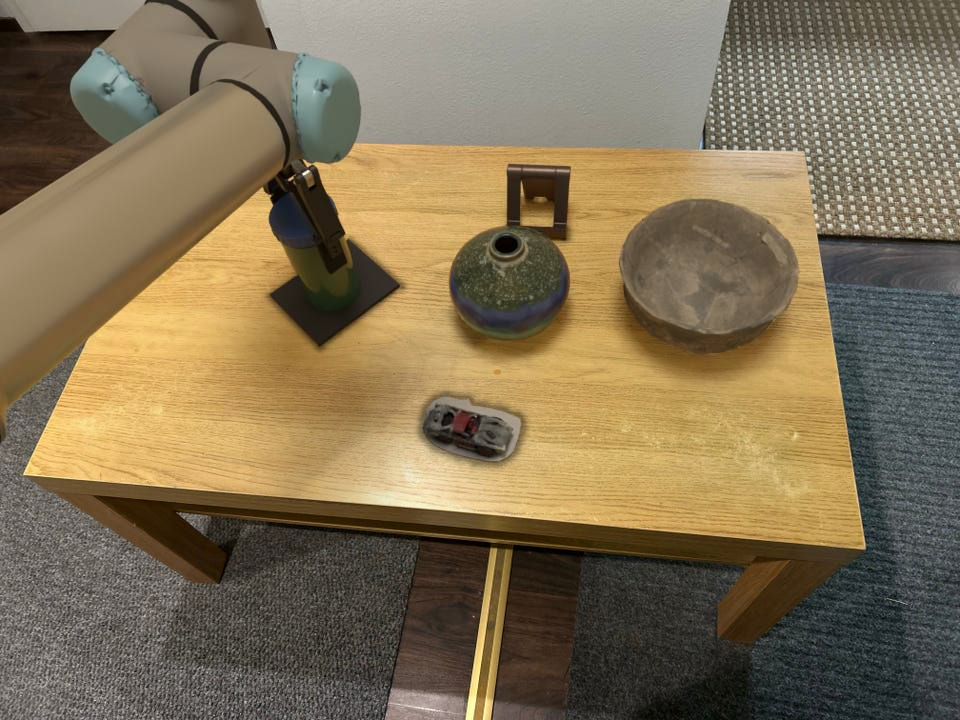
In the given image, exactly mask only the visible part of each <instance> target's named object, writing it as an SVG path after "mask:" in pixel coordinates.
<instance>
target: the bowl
mask: <svg viewBox="0 0 960 720" xmlns="http://www.w3.org/2000/svg"><path fill="white" fill-rule="evenodd" d="M619 252H620V253H619V259H618V267H619V272H620V276H621V279H622V293H623V298H624V301H625V304H626V307H627V308H628V310H629V312H630V314H631V315H632V317H633V319H634V320H635V322H636V323H637V324H638V325H639V327H641V328H642V329H643V330H644V332H646V333H647V334H648V335H649V336H651V337H652V338H653V339H656V340H658V341H659V342H661V343H664V344H666V345H669V346H670V347H672V348H675V349H679V350H682V351H684V352H687V353H689V354H690V353H691V354H693V355H696V356H705V355H716V354H724V353H728V352H732V351H735V350H738V349H739V348H741V347H744V346H748V345H749V344H752V343H753V342H755V341H757V340H758V339H759V338H760V337H762V335H763V334H765V333H766V331H767V330H768V329H769V328H770V327H771V325H772V324H773V323H774V320H776V319H777V318H778V317H779V316H781V315H783V314H784V312H785V311H786V309H788V307H789V306H790V305H791V303H792V301H793V298H794V296H795V294H796V292H797V290H798V285H799V274H800V267H799V266H800V265H799V260H798V257H797V255H796V252H795V249H794V248H793V245H792V243H791V241H790V240H789V239H788V238H786V237H785V236H784V234H783V233H782V232H781V231H780V230H779V229H778V228H777V227H776V225H774V224H772V223H771V222H770V220H769V219H767V218H766V217H764V216H762V215H759V214H758V213H757V212H754V211H752V210H751V209H749V208H747V207H746V206H743V205H739V204H736V203H732V202H728V201H722V200H719V199H713V198H692V197H689V198H684V199H680V200H679V199H678V200H676V201H673V202H670V203H667V204H665V205H662V206H659V207H658V208H656V209H654V210H652V211H651V212H650V213H648V214H647V215H646V216H644V217H643V218H642V220H640V221H639V222H637V223H636V224H635V225H634V227H633V228H632V229H631V230H630V232H629V233H628V234H627V235H626V238H625V240H624V242H623V244H622V246H621V248H620V251H619Z"/></svg>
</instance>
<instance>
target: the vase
mask: <svg viewBox="0 0 960 720" xmlns="http://www.w3.org/2000/svg"><path fill="white" fill-rule="evenodd" d="M522 226H523V225H521V226H505V225H501V226H495V227H491V228H487V229H486V230H483V231H481V232H479V233H477V234H475V235H474V236H473V237H471V238H470V239H469V240H468V241H466V242H465V243H464V245H462V246H461V247H460V249H459V250H458V252H457V253H456V254H455V257H454V259H453V261H452V263H451V266H450V269H449V274H448V291H449V296H450V300H451V303H452V306H453V307H454V309H455V312H456V313H457V315H458V316H459V317H460V319H461V320H462V321H463V322H464V323H465V324H466V326H468V328H470V329H471V330H473V331H475V332H476V333H478V335H482V336H483V337H486V338H489V339H491V340H495V341H502V342H515V341H522V340H526V339H530V338H532V337H535V336H537V335H539V334H541V333H542V332H544V331H545V330H547V329H548V328H549V327H550V326H551V325H553V324H554V323H555V321H556V320H557V319H558V318H559V316H561V314H562V312H563V310H564V308H565V306H566V304H567V301H568V299H569V295H570V289H571V274H570V269H569V265H568V261H567V260H566V257H565V255H564V253H563V252H562V250H561V249H560V248H559V246H558V245H557V244H556V243H555V242H554V241H553V240H552V239H551V238H550V237H546V236H545V235H543V234H541V233H539V232H538V231H535V230H533V229H530V228H526V227H522Z"/></svg>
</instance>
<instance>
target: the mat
mask: <svg viewBox="0 0 960 720" xmlns="http://www.w3.org/2000/svg"><path fill="white" fill-rule="evenodd" d="M345 240H346V243H347V245H348V248H349V251H350V253H351V256H352V259H353V262H354V264H355V267H356V270H357V272H358V275H359V278H360V280H361V291H360V294H359V296H358V297H357V299H356V300H355V301H354V302H353V303H352V304H351V305H349V306H348V307H346V308H344V309H341V310H338V311H323V310H320V309H317V308H316V307H314V306H313V305H312V304H311V303H310V301H309V299H308V297H307V295H306V293H305V291H304V289H303V287H302V285H301V283H300V281H299V279H298V277H297V275H296V274H295V276H293V277H292V278H291V279H289V280H288V281H286V282H285V283H283V284H282V285H280V286H279V287H278V288H276V289H275V290H273V291H272V292H271V293H269V296H270V297H271V299H273V300H274V301H275V303H276V304H277V305H278V306H279V307H280V308H281V309H282V310H283V311H284V312H285V313H286V314H287V315H288V316H289V317H290V318H291V319H292V320H293V321H294V322H295V323H296V324H297V325H298V326H299V327H300V328H301V329H302V330H303V332H304V333H306V334H307V336H308V337H309V338H310V339H311V340H312V341H313V342H314V343H315V344H316V345H317V346H318V347H321V346H322V345H324V344H325V343H326V342H328V341H329V340H331V339H332V338H334V337H335V336H336V335H337V334H339V333H340V332H342V331H343V330H344V329H346V328H347V327H349V325H351V324H352V323H354V322H355V321H356V320H358V319H359V318H360V317H361V316H363V315H364V314H365V313H367V312H368V311H369V310H371V309H372V308H373V307H375V306H376V305H378V304H379V303H380V302H382V301H383V300H384V299H386V298H387V297H388V296H389V295H391V294H393V293H394V292H395V291H396V290H397V289H400V287H401V285H400V282H398V281H397V280H396V279H394V277H392V276H391V275H390V274H389V273H388V272H387V271H386V270H384V269H383V268H382V267H381V266H380V265H378V264H377V262H375V260H373V259H372V258H371V257H370V256H369V255H367V254H366V253H365V252H364V251H363V250H362V249H361V248H360V247H358V246H357V245H356V244H355V243H354V242H353V241H351V240H350V239H349V238H348V239H345Z"/></svg>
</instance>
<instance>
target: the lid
mask: <svg viewBox="0 0 960 720" xmlns="http://www.w3.org/2000/svg"><path fill="white" fill-rule="evenodd" d="M327 195H328V197H329V199H330V201H331V203H332V205H333V208H334V210H335V212H336V214H337V216H338V217H339V211H338V209H337V206H336V204H335V201H334V200H333V198H332V196H330V194H328V193H327ZM268 224H269V227H270V229H271V232H272V234H273V236H274V237H275V239H276V240H277V241H278V242H279V243H280V244H281V243H282V244H284V245H286V246H289V247H293V248H305V247H310V246H314V244H313V243H312V241H311V240H313V236H314V235H315V234H314V233H313V231H312V229H311V228H310V226H309V224H308V223H307V221H306V219H305V218H304V216H303V214H302V213H301V211H300V209H299V208H298V206H297V204H296V203H295V201H294V199H293V198H292V196H291V195H290V193H288V194H286V195H284V196H283V197H281V198H280V199H279V200H278V201H277V202H276V203H275V204H274V205H273V204H272V206H271V208H270V210H269V214H268ZM282 244H281V245H282Z"/></svg>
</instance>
